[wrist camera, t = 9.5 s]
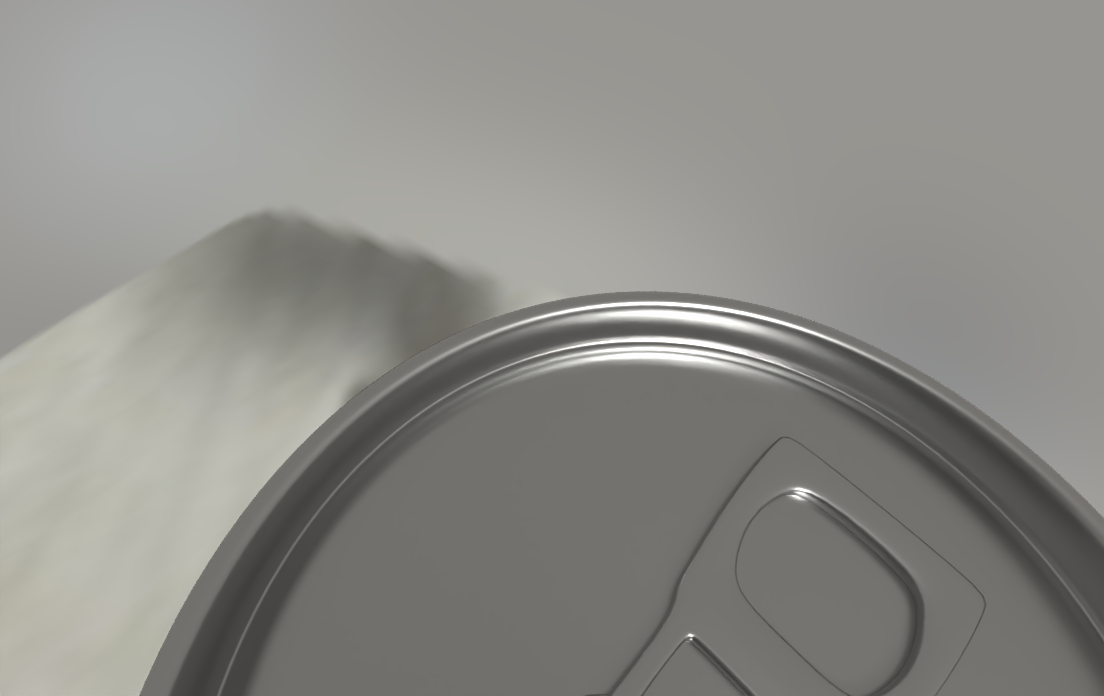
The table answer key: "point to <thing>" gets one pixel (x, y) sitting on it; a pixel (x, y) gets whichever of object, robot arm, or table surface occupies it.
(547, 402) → the can
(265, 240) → the table surface
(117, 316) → the table surface
